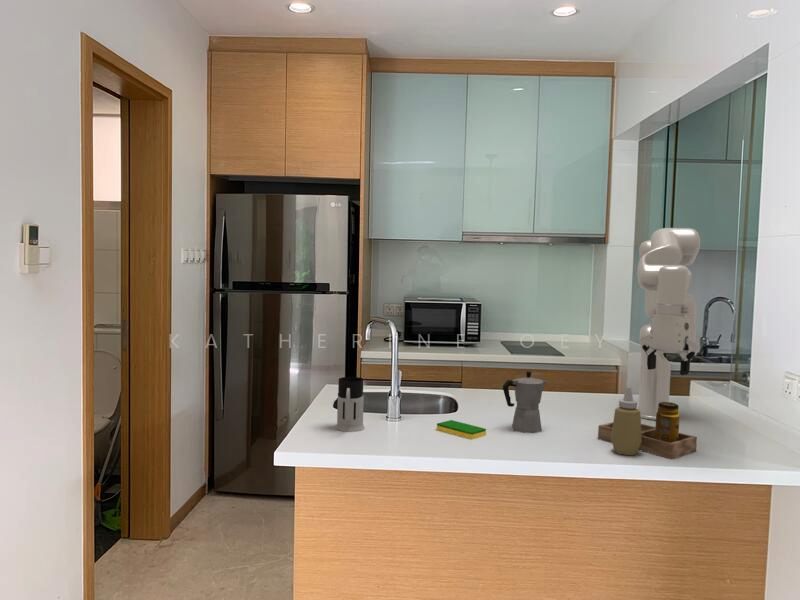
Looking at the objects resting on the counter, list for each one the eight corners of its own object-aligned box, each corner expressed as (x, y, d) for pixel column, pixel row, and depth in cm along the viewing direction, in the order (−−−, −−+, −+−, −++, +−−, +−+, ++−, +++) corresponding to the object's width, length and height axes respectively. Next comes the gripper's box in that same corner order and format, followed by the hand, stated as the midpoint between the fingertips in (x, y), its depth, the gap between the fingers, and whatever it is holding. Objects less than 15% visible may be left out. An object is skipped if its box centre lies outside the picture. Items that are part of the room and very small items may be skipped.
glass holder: (365, 424, 201) (366, 376, 200) (361, 437, 187) (362, 386, 186) (337, 423, 201) (338, 376, 200) (331, 436, 187) (332, 385, 186)
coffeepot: (536, 423, 207) (539, 368, 206) (553, 431, 198) (555, 373, 197) (494, 427, 202) (496, 369, 201) (509, 435, 193) (511, 375, 192)
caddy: (623, 432, 199) (623, 419, 199) (696, 451, 181) (696, 437, 181) (597, 438, 191) (598, 425, 191) (671, 459, 173) (672, 444, 173)
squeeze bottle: (605, 448, 182) (608, 384, 180) (633, 448, 182) (636, 385, 181) (617, 457, 174) (620, 390, 172) (646, 457, 174) (649, 391, 173)
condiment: (684, 447, 181) (687, 405, 180) (665, 451, 176) (668, 408, 176) (661, 440, 187) (663, 399, 186) (643, 444, 182) (645, 402, 182)
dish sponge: (471, 440, 187) (471, 432, 187) (435, 431, 197) (436, 423, 197) (486, 436, 192) (486, 428, 192) (451, 427, 202) (451, 419, 202)
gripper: (708, 312, 175) (704, 375, 176) (649, 307, 188) (646, 366, 189) (694, 314, 170) (690, 378, 171) (635, 308, 184) (632, 368, 185)
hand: (667, 371), depth 180 cm, fingers open, 9 cm apart
